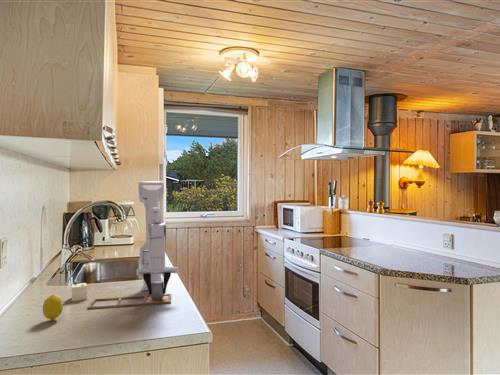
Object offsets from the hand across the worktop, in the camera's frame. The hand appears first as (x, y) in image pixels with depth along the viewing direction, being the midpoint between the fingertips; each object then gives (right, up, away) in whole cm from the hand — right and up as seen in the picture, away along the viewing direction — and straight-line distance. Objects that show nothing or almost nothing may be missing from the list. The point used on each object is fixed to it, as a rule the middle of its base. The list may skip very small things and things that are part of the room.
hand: (157, 293), depth 135 cm
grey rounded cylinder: (0, -1, 0) cm, 1 cm away
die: (-30, -3, +3) cm, 30 cm away
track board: (-9, -3, -2) cm, 9 cm away
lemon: (-28, -3, -20) cm, 34 cm away
